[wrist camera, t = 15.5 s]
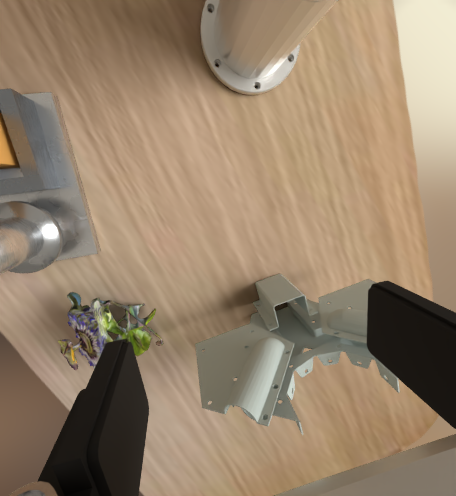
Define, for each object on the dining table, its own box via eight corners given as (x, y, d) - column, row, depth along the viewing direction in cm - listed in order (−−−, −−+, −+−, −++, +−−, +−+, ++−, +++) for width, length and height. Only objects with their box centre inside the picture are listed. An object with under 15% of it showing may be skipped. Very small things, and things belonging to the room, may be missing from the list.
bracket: (200, 343, 41) (219, 480, 22) (186, 306, 39) (194, 424, 20) (350, 287, 44) (479, 366, 25) (344, 250, 42) (480, 307, 23)
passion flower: (102, 302, 42) (37, 298, 31) (161, 281, 41) (116, 269, 30) (113, 373, 39) (45, 398, 28) (178, 352, 38) (134, 369, 26)
